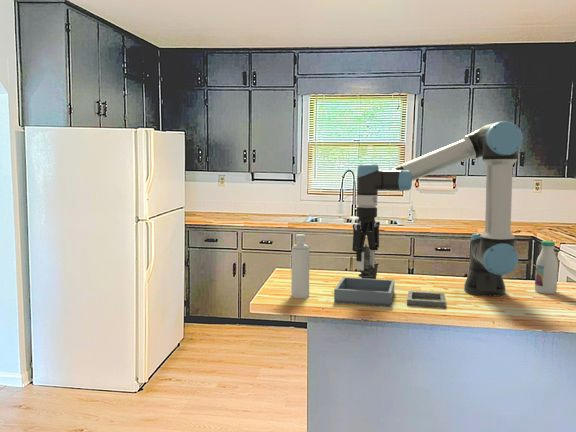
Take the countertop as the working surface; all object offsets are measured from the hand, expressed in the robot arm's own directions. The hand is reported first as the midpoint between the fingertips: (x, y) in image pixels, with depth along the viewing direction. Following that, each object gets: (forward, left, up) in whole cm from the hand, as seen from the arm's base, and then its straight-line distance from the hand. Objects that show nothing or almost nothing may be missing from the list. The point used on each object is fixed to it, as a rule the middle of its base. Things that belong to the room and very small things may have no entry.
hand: (365, 268), depth 198 cm
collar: (-22, 0, -11) cm, 25 cm away
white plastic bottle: (+24, +4, -11) cm, 27 cm away
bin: (0, 0, -11) cm, 11 cm away
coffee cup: (+1, -21, -11) cm, 24 cm away
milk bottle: (-67, -27, -11) cm, 73 cm away
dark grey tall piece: (0, 0, -3) cm, 3 cm away
